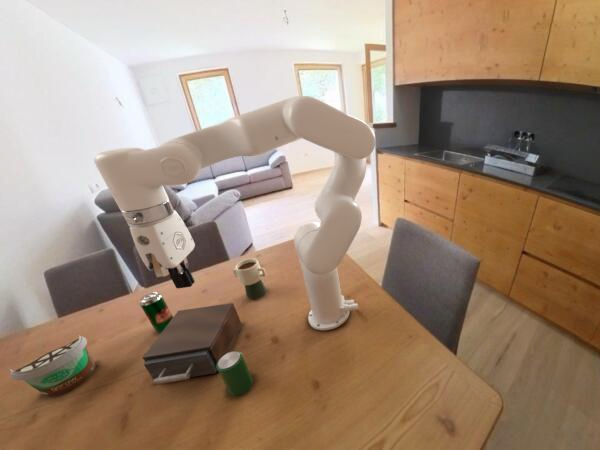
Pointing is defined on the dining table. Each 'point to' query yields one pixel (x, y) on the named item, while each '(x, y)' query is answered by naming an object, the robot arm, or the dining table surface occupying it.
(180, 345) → the cabinet
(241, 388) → the can
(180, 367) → the drawer
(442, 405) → the dining table surface
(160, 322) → the soda can
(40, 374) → the food container
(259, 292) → the character mug
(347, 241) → the robot arm
